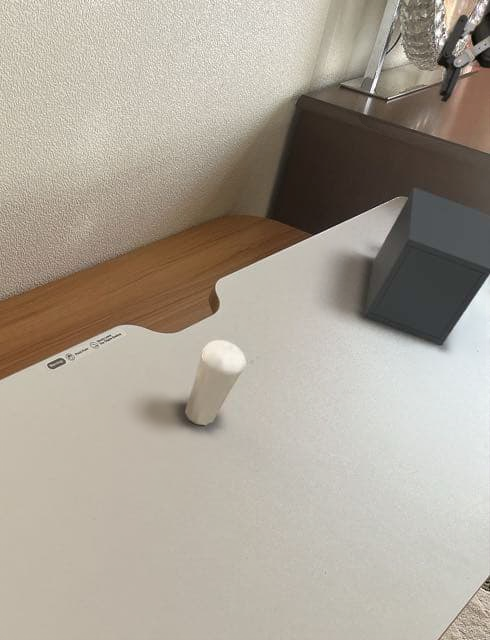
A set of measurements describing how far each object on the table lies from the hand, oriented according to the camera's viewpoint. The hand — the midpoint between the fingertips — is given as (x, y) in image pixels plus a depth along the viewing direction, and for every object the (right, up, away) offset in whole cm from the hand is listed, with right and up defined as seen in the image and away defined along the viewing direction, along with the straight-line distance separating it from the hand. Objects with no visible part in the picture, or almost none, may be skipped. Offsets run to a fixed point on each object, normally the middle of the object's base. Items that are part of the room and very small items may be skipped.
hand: (474, 110), depth 121 cm
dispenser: (-10, -27, -2) cm, 29 cm away
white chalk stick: (-41, -45, -26) cm, 66 cm away
